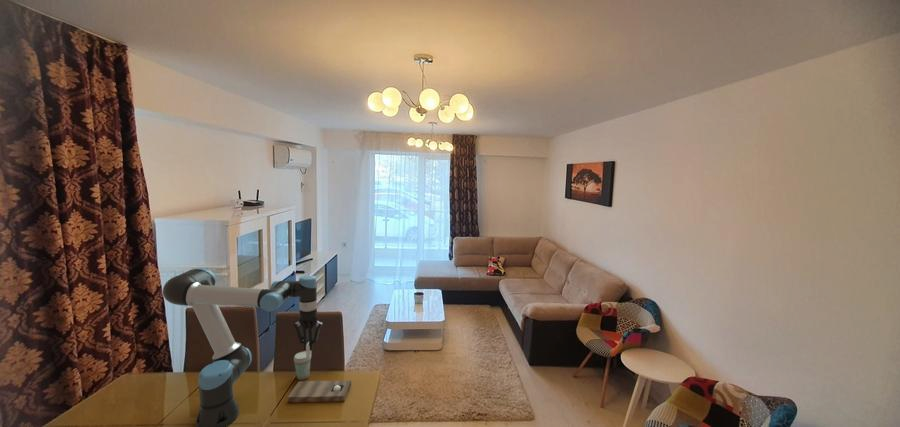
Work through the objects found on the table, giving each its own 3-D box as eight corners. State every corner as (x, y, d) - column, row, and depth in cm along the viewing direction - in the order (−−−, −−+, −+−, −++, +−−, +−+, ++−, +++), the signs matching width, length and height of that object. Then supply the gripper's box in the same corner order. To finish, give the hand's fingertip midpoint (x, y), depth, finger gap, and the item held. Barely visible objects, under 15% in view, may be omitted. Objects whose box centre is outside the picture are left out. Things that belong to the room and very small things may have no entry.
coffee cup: (305, 382, 166) (304, 360, 165) (290, 380, 168) (289, 358, 167) (315, 372, 175) (314, 351, 173) (301, 370, 176) (300, 349, 175)
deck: (288, 402, 152) (287, 397, 151) (298, 386, 163) (298, 381, 163) (344, 401, 153) (344, 396, 152) (351, 385, 165) (351, 380, 164)
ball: (331, 388, 156) (339, 387, 156) (333, 384, 160) (341, 383, 160) (332, 395, 157) (340, 394, 157) (335, 391, 160) (342, 389, 160)
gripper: (290, 311, 150) (291, 360, 152) (319, 312, 150) (319, 360, 153) (297, 305, 157) (298, 352, 159) (324, 306, 158) (325, 352, 160)
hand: (308, 356), depth 156 cm, fingers closed
